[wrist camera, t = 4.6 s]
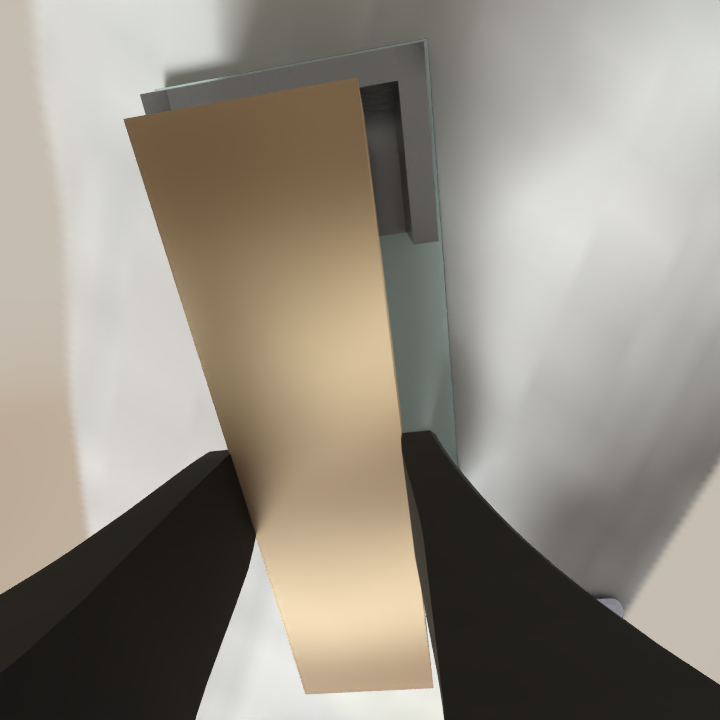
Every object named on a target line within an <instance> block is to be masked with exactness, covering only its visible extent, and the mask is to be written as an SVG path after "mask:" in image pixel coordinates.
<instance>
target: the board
mask: <svg viewBox="0 0 720 720" xmlns="http://www.w3.org/2000/svg"><path fill="white" fill-rule="evenodd" d="M423 41H424V48H425V61H426V75H427V89H428V102H429V116H430V129H431V143H432V156H433V170H434V183H435V197H436V211H437V224H438V238H439V241H437V242H430V243H423V244H415V245H413V243H412V241H411V240H410V238H409V236H408V234H407V233H406V232H405V233H398V234H391V235H384V236H379V239H380V247H381V255H382V263H383V271H384V279H385V287H386V296H387V304H388V312H389V320H390V328H391V336H392V344H393V353H394V361H395V369H396V377H397V385H398V393H399V401H400V410H401V418H402V426H403V433H406V432H416V431H427V430H431V431H432V432H433V433H435V434H436V436H437V438H438V440H439V441H440V443H441V445H442V446H443V448H444V449H445V451H446V452H447V453H448V455H449V456H450V458H451V459H452V460H453V462H454V463H455V464H456V466H457V467H458V462H457V448H456V434H455V420H454V406H453V392H452V378H451V364H450V349H449V335H448V321H447V307H446V293H445V279H444V265H443V251H442V237H441V223H440V209H439V195H438V181H437V167H436V153H435V139H434V125H433V111H432V97H431V83H430V69H429V55H428V41H427V39H421V40H416V41H411V42H405V43H400V44H395V45H390V46H384V47H379V48H374V49H368V50H363V51H358V52H352V53H347V54H342V55H336V56H331V57H326V58H320V59H315V60H310V61H304V62H299V63H294V64H288V65H283V66H278V67H272V68H267V69H262V70H256V71H251V72H246V73H240V74H235V75H230V76H224V77H219V78H214V79H209V80H203V81H198V82H193V83H187V84H182V85H177V86H171V87H166V88H161V89H155V92H156V91H162V90H167V89H172V88H178V87H183V86H188V85H194V84H199V83H204V82H210V81H215V80H220V79H226V78H231V77H236V76H242V75H247V74H252V73H258V72H263V71H268V70H274V69H279V68H284V67H290V66H295V65H300V64H306V63H311V62H316V61H322V60H327V59H332V58H338V57H343V56H348V55H354V54H359V53H364V52H370V51H375V50H380V49H386V48H391V47H396V46H402V45H407V44H412V43H418V42H423Z"/></svg>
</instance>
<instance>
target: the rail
mask: <svg viewBox="0 0 720 720" xmlns="http://www.w3.org/2000/svg"><path fill="white" fill-rule="evenodd" d="M124 122H125V125H126V129H127V132H128V135H129V138H130V141H131V144H132V148H133V151H134V154H135V157H136V160H137V163H138V167H139V170H140V173H141V176H142V179H143V182H144V185H145V189H146V192H147V195H148V198H149V201H150V204H151V208H152V211H153V214H154V217H155V220H156V223H157V227H158V230H159V233H160V236H161V239H162V242H163V245H164V249H165V252H166V255H167V258H168V261H169V264H170V268H171V271H172V274H173V277H174V280H175V283H176V287H177V290H178V293H179V296H180V299H181V302H182V305H183V309H184V312H185V315H186V318H187V321H188V324H189V328H190V331H191V334H192V337H193V340H194V343H195V347H196V350H197V353H198V356H199V359H200V362H201V365H202V369H203V372H204V375H205V378H206V381H207V384H208V388H209V391H210V394H211V397H212V400H213V403H214V406H215V410H216V413H217V416H218V419H219V422H220V425H221V429H222V432H223V435H224V438H225V441H226V444H227V448H228V451H229V454H231V457H232V460H233V464H234V467H235V470H236V473H237V476H238V479H239V483H240V486H241V489H242V492H243V495H244V498H245V502H246V505H247V508H248V511H249V514H250V517H251V521H252V524H253V527H254V530H255V533H256V539H257V542H258V545H259V549H260V552H261V555H262V558H263V561H264V564H265V568H266V571H267V574H268V577H269V580H270V583H271V586H272V590H273V593H274V596H275V599H276V602H277V605H278V609H279V612H280V615H281V618H282V621H283V624H284V628H285V631H286V634H287V637H288V640H289V643H290V646H291V650H292V653H293V656H294V659H295V662H296V665H297V669H298V672H299V675H300V678H301V681H302V684H303V688H304V691H305V694H321V693H342V692H362V691H382V690H403V689H423V688H433V680H432V671H431V663H430V654H429V645H428V636H427V627H426V618H425V609H424V601H423V596H422V591H421V586H420V580H419V575H418V570H417V565H416V560H415V553H414V545H413V537H412V529H411V521H410V513H409V505H408V497H407V489H406V482H405V474H404V466H403V458H402V450H401V437H402V433H403V426H402V418H401V410H400V401H399V393H398V385H397V377H396V369H395V361H394V353H393V344H392V336H391V328H390V320H389V312H388V304H387V296H386V287H385V279H384V271H383V263H382V255H381V247H380V239H379V230H378V222H377V214H376V206H375V198H374V190H373V182H372V173H371V165H370V157H369V149H368V141H367V133H366V125H365V116H364V111H363V106H362V100H361V95H360V90H359V84H358V79H357V77H356V78H350V79H345V80H339V81H333V82H328V83H322V84H317V85H311V86H305V87H300V88H294V89H289V90H283V91H278V92H272V93H266V94H261V95H255V96H250V97H244V98H239V99H233V100H227V101H222V102H216V103H211V104H205V105H199V106H194V107H188V108H183V109H177V110H172V111H166V112H160V113H155V114H149V115H144V116H138V117H132V118H127V119H124Z"/></svg>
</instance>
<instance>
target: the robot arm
mask: <svg viewBox="0 0 720 720" xmlns="http://www.w3.org/2000/svg"><path fill="white" fill-rule="evenodd" d="M401 450H402V458H403V466H404V474H405V482H406V489H407V497H408V505H409V513H410V521H411V529H412V537H413V545H414V553H415V560H416V565H417V570H418V575H419V580H420V586H421V591H422V596H423V601H424V606H425V612H426V617H427V622H428V627H429V632H430V637H431V643H432V648H433V653H434V658H435V663H436V669H437V674H438V680H439V686H440V692H441V699H442V705H443V714H444V720H720V685H719V684H718V683H716V682H715V681H713V680H712V679H710V678H709V677H707V676H706V675H704V674H702V673H701V672H699V671H698V670H697V669H695V668H693V667H692V666H690V665H689V664H687V663H686V662H684V661H682V660H681V659H680V658H678V657H677V656H675V655H674V654H672V653H671V652H669V651H668V650H666V649H665V648H663V647H662V646H660V645H659V644H657V643H656V642H655V641H653V640H652V639H650V638H649V637H648V636H646V635H645V634H643V633H642V632H641V631H639V630H638V629H637V628H635V627H634V626H633V625H631V624H629V623H628V622H627V621H626V620H624V619H623V613H624V610H623V607H622V605H621V604H620V602H619V601H618V600H616V599H612V598H607V599H595V598H594V597H593V596H591V595H590V594H589V593H588V592H586V591H585V590H584V589H582V588H581V587H580V586H579V585H578V584H576V583H575V582H574V581H573V580H571V579H570V578H569V577H568V576H567V575H565V574H564V573H563V572H562V571H560V570H559V569H558V568H557V567H555V566H554V565H553V564H552V563H551V562H550V561H549V560H547V559H546V558H545V557H544V556H543V555H542V554H541V553H539V552H538V551H537V550H536V549H535V548H534V547H533V546H531V545H530V544H529V543H528V542H527V541H526V540H525V539H524V538H523V537H522V536H521V535H520V534H519V533H517V532H516V531H515V530H514V529H513V528H512V527H511V526H510V525H509V524H508V523H507V522H506V521H505V520H504V519H503V518H502V517H501V516H500V515H499V514H498V513H497V512H496V511H495V510H494V509H493V507H492V506H491V505H490V504H489V503H488V502H487V501H486V500H485V499H484V498H483V497H482V496H481V494H480V493H479V492H478V491H477V490H476V489H475V487H474V486H473V485H472V484H471V483H470V482H469V480H468V479H467V478H466V477H465V476H464V475H463V473H462V472H461V471H460V470H459V468H458V467H457V466H456V464H455V463H454V462H453V460H452V459H451V458H450V456H449V455H448V453H447V452H446V451H445V449H444V448H443V446H442V445H441V443H440V441H439V440H438V438H437V436H436V434H435V433H433V432H432V431H431V430H427V431H416V432H406V433H402V437H401ZM255 538H256V533H255V530H254V527H253V524H252V521H251V517H250V514H249V511H248V508H247V505H246V502H245V498H244V495H243V492H242V489H241V486H240V483H239V479H238V476H237V473H236V470H235V467H234V464H233V460H232V457H231V454H229V451H228V450H222V451H212V452H209V453H207V454H205V455H204V456H202V457H201V458H199V459H198V460H196V461H195V462H193V463H192V464H190V465H189V466H187V467H186V468H185V469H183V470H182V471H181V472H179V473H178V474H177V475H175V476H174V477H172V478H171V479H170V480H168V481H167V482H166V483H164V484H163V485H162V486H160V487H159V488H158V489H156V490H155V491H154V492H152V493H151V494H150V495H148V496H147V497H146V498H144V499H143V500H141V501H140V502H139V503H137V504H136V505H135V506H133V507H132V508H131V509H129V510H128V511H127V512H125V513H124V514H122V515H121V516H120V517H118V518H117V519H115V520H114V521H112V522H111V523H110V524H108V525H107V526H105V527H104V528H102V529H101V530H100V531H98V532H97V533H95V534H94V535H92V536H91V537H90V538H88V539H87V540H85V541H84V542H82V543H81V544H79V545H78V546H77V547H75V548H74V549H72V550H71V551H69V552H68V553H66V554H65V555H63V556H62V557H60V558H59V559H57V560H56V561H54V562H53V563H51V564H49V565H48V566H46V567H45V568H43V569H42V570H40V571H39V572H37V573H35V574H34V575H32V576H30V577H29V578H27V579H25V580H24V581H22V582H21V583H19V584H17V585H15V586H14V587H12V588H11V589H9V590H7V591H6V592H4V593H2V594H1V595H0V720H195V719H196V715H197V712H198V709H199V706H200V703H201V700H202V697H203V694H204V691H205V688H206V685H207V682H208V679H209V676H210V674H211V671H212V668H213V665H214V663H215V660H216V657H217V655H218V652H219V649H220V646H221V644H222V641H223V638H224V635H225V633H226V630H227V627H228V625H229V622H230V619H231V616H232V614H233V611H234V608H235V605H236V603H237V600H238V597H239V594H240V591H241V589H242V586H243V583H244V580H245V577H246V574H247V571H248V568H249V564H250V560H251V556H252V552H253V548H254V543H255Z"/></svg>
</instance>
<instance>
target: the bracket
mask: <svg viewBox="0 0 720 720" xmlns="http://www.w3.org/2000/svg"><path fill="white" fill-rule="evenodd" d="M356 77H357V79H358V84H359V90H360V95H361V100H362V106H363V111H364V116H365V125H366V133H367V141H368V149H369V157H370V165H371V173H372V182H373V190H374V198H375V206H376V214H377V222H378V230H379V236H384V235H391V234H398V233H405V232H406V233H407V234H408V236H409V238H410V240H411V241H412V243H413V245H415V244H423V243H430V242H437V241H439V238H438V224H437V211H436V197H435V183H434V170H433V156H432V143H431V129H430V116H429V102H428V89H427V75H426V61H425V48H424V41H423V42H418V43H412V44H407V45H402V46H396V47H391V48H386V49H380V50H375V51H370V52H364V53H359V54H354V55H348V56H343V57H338V58H332V59H327V60H322V61H316V62H311V63H306V64H300V65H295V66H290V67H284V68H279V69H274V70H268V71H263V72H258V73H252V74H247V75H242V76H236V77H231V78H226V79H220V80H215V81H210V82H204V83H199V84H194V85H188V86H183V87H178V88H172V89H167V90H162V91H156V92H151V93H146V94H140V96H141V99H142V103H143V106H144V110H145V113H146V115H149V114H155V113H160V112H166V111H172V110H177V109H183V108H188V107H194V106H199V105H205V104H211V103H216V102H222V101H227V100H233V99H239V98H244V97H250V96H255V95H261V94H266V93H272V92H278V91H283V90H289V89H294V88H300V87H305V86H311V85H317V84H322V83H328V82H333V81H339V80H345V79H350V78H356Z"/></svg>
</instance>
